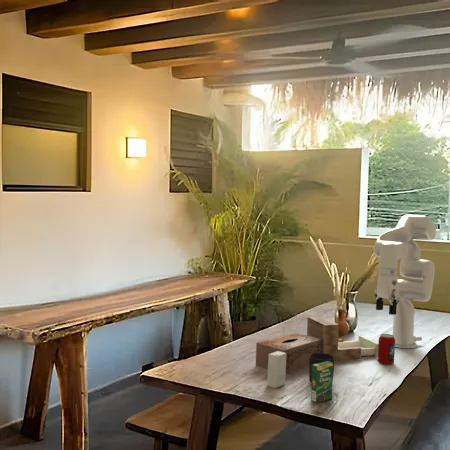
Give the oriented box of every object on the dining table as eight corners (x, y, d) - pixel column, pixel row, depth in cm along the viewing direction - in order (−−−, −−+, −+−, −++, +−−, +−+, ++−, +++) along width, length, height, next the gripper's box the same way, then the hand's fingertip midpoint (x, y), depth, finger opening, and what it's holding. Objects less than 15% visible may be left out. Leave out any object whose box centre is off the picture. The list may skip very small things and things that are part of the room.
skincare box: (276, 381, 219) (277, 350, 218) (285, 384, 216) (287, 352, 215) (266, 385, 214) (267, 353, 213) (276, 388, 211) (277, 356, 210)
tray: (362, 347, 269) (362, 335, 268) (380, 356, 255) (381, 343, 254) (326, 350, 262) (326, 337, 262) (343, 359, 248) (343, 346, 248)
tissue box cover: (283, 375, 228) (284, 350, 227) (255, 366, 238) (256, 342, 237) (321, 362, 246) (322, 339, 245) (293, 354, 256) (294, 332, 255)
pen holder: (338, 384, 218) (339, 358, 218) (320, 388, 213) (321, 361, 213) (321, 376, 226) (322, 351, 226) (303, 380, 221) (304, 354, 221)
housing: (341, 349, 266) (343, 315, 265) (360, 359, 251) (362, 323, 250) (306, 352, 260) (307, 316, 259) (323, 362, 245) (324, 325, 244)
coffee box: (315, 404, 197) (317, 366, 196) (309, 401, 200) (311, 363, 199) (332, 399, 202) (334, 362, 201) (326, 397, 204) (328, 360, 203)
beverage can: (394, 366, 243) (396, 338, 242) (378, 364, 244) (379, 336, 243) (393, 361, 249) (394, 334, 248) (377, 360, 251) (378, 332, 250)
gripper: (408, 274, 238) (405, 316, 239) (384, 269, 255) (382, 308, 255) (392, 274, 236) (389, 316, 237) (369, 269, 252) (367, 308, 253)
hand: (385, 312), depth 246 cm, fingers open, 9 cm apart
